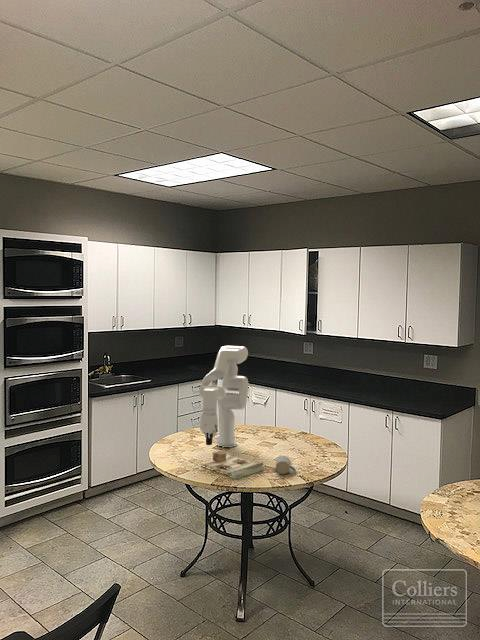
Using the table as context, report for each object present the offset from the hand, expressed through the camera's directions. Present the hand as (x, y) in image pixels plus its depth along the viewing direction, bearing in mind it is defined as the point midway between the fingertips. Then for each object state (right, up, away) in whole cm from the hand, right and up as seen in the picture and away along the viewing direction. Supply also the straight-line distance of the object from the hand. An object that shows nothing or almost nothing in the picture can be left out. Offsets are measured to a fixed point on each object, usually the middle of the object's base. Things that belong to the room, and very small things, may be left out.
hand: (209, 444), depth 289 cm
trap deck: (+13, -10, -11) cm, 19 cm away
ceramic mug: (+40, -11, -16) cm, 45 cm away
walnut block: (+6, -7, -4) cm, 10 cm away
